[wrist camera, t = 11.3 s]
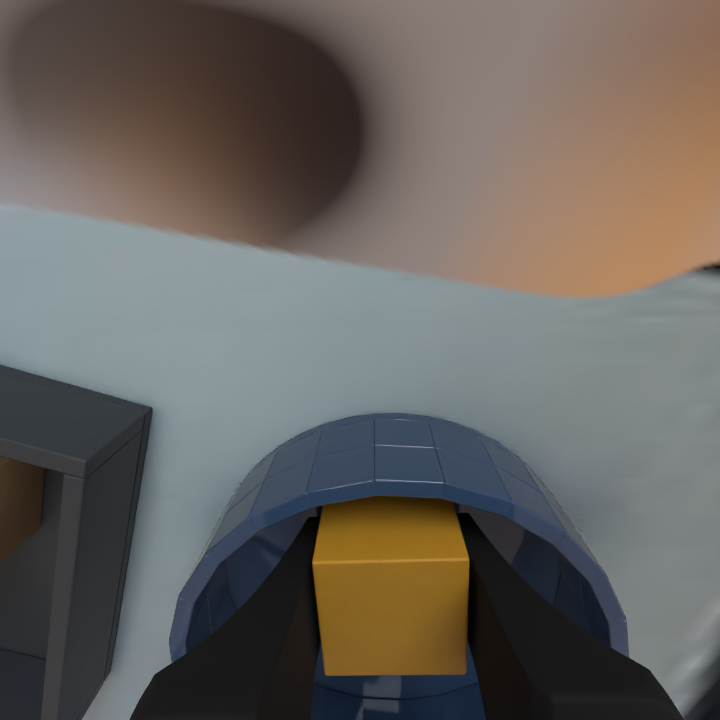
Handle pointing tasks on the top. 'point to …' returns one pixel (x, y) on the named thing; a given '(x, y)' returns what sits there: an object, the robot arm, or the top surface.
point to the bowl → (401, 479)
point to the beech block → (19, 503)
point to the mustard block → (391, 587)
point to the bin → (67, 542)
